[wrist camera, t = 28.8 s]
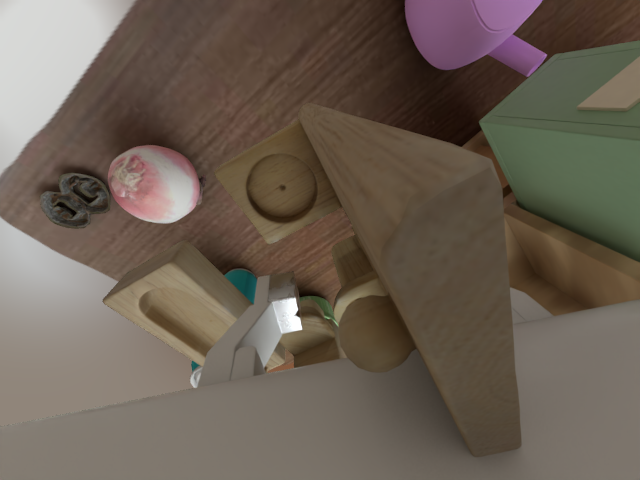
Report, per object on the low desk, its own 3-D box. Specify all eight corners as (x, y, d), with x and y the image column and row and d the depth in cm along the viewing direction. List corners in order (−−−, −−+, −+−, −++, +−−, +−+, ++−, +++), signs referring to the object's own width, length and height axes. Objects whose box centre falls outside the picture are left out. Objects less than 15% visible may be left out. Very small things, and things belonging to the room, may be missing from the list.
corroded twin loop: (35, 201, 26) (26, 205, 26) (83, 159, 25) (75, 161, 24) (81, 233, 29) (74, 237, 28) (126, 196, 27) (121, 200, 27)
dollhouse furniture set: (81, 240, 12) (-567, 699, 3) (309, 101, 11) (539, 129, 1) (238, 358, 19) (193, 617, 10) (395, 285, 17) (533, 516, 8)
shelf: (486, 124, 29) (856, 170, 10) (517, 189, 35) (797, 295, 16) (384, 213, 33) (517, 358, 15) (426, 258, 39) (561, 406, 20)
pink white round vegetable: (176, 126, 25) (141, 135, 18) (224, 189, 28) (208, 214, 22) (115, 163, 25) (62, 183, 19) (169, 219, 29) (140, 251, 23)
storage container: (554, 50, 15) (855, -3, 7) (585, 168, 20) (786, 214, 12) (476, 119, 17) (656, 137, 9) (523, 213, 22) (665, 280, 14)
